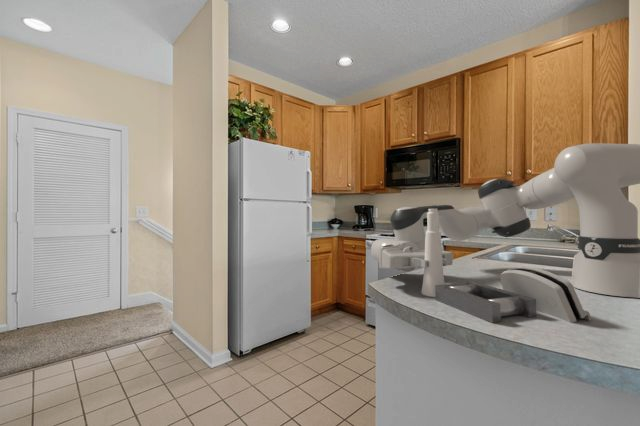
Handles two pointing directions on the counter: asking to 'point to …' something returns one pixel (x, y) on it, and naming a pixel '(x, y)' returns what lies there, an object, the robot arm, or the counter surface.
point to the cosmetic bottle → (433, 255)
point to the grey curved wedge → (545, 292)
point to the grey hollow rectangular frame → (485, 301)
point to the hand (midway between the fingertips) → (436, 263)
